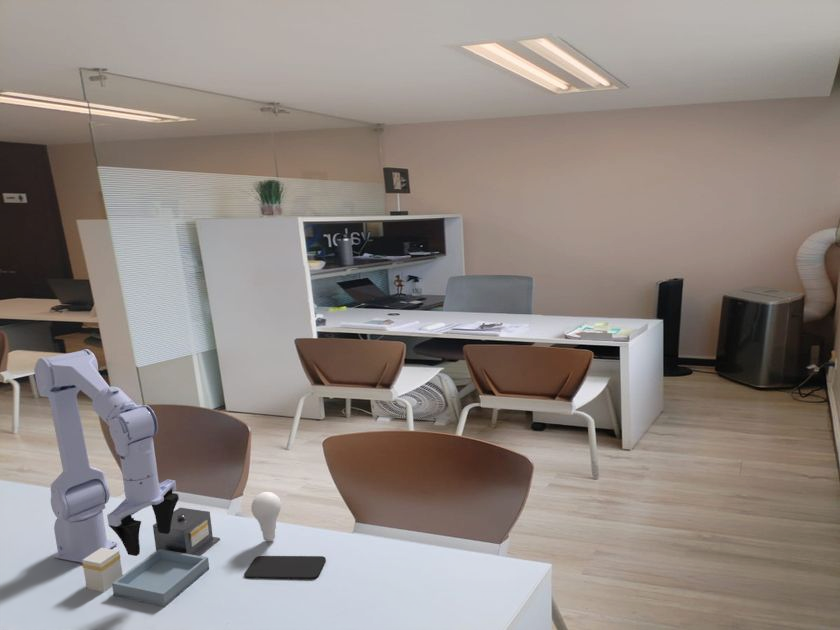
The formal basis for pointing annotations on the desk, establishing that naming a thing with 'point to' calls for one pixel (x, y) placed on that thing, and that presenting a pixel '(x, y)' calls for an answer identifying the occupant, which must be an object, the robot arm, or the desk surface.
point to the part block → (102, 569)
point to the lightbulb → (266, 513)
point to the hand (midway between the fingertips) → (149, 543)
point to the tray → (161, 577)
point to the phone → (286, 567)
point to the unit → (187, 533)
